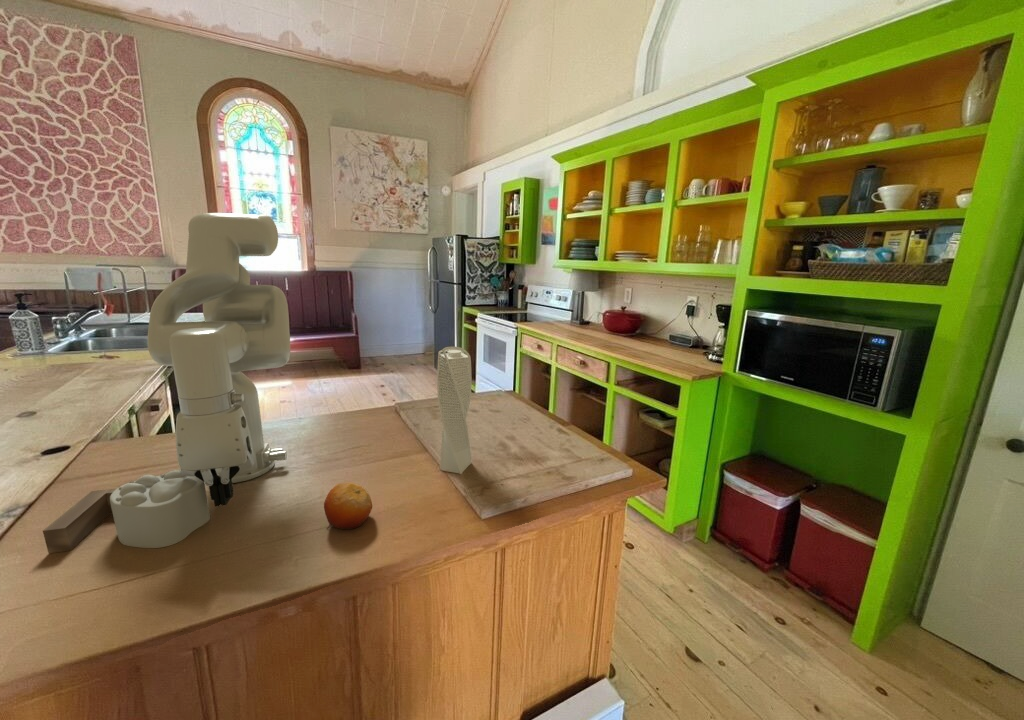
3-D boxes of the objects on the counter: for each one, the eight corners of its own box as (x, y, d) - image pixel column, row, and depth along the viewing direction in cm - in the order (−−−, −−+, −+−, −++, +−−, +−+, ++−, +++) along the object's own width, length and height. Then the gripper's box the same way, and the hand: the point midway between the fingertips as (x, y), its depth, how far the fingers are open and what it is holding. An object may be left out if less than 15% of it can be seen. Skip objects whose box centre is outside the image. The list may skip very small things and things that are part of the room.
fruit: (322, 503, 80) (343, 468, 79) (362, 522, 82) (382, 488, 80) (306, 530, 72) (328, 492, 71) (350, 550, 74) (372, 513, 73)
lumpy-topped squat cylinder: (167, 550, 69) (157, 501, 67) (96, 542, 71) (85, 493, 69) (219, 513, 79) (212, 469, 77) (156, 506, 81) (147, 463, 79)
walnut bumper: (184, 500, 83) (181, 481, 82) (153, 539, 72) (148, 517, 71) (96, 511, 79) (91, 491, 78) (48, 553, 68) (42, 530, 67)
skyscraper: (463, 478, 93) (461, 349, 86) (432, 472, 95) (428, 346, 89) (478, 462, 100) (477, 341, 94) (448, 457, 102) (446, 339, 96)
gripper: (263, 392, 79) (275, 485, 83) (165, 399, 74) (182, 497, 79) (252, 406, 72) (265, 507, 76) (143, 414, 67) (163, 520, 72)
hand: (223, 501), depth 77 cm, fingers closed
